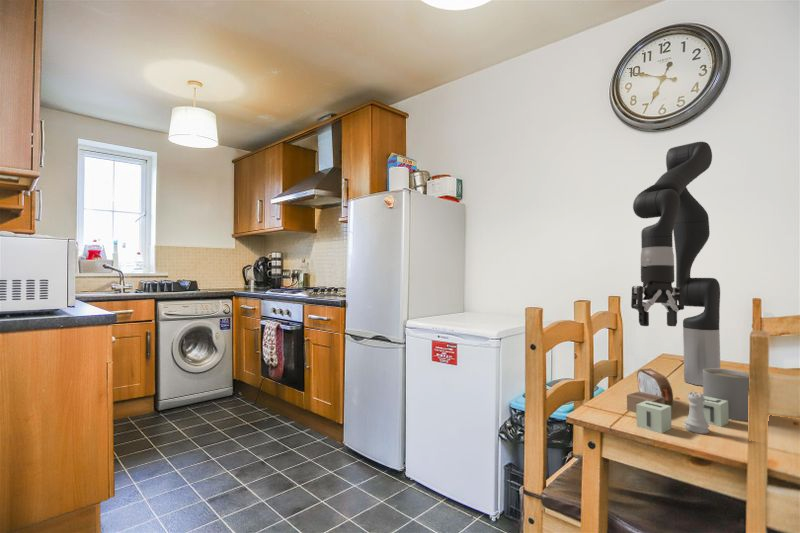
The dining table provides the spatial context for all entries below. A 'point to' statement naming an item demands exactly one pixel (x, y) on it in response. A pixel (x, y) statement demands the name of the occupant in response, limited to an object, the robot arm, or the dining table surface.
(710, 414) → the numbered block seven
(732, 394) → the coffee mug
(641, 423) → the numbered block one
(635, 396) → the walnut block
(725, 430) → the dining table surface
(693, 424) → the rook chess piece
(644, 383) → the tin
